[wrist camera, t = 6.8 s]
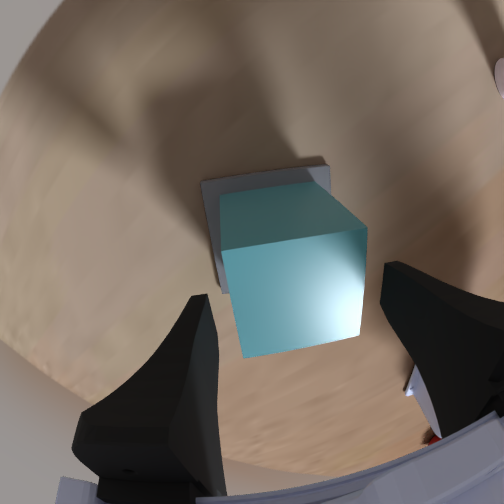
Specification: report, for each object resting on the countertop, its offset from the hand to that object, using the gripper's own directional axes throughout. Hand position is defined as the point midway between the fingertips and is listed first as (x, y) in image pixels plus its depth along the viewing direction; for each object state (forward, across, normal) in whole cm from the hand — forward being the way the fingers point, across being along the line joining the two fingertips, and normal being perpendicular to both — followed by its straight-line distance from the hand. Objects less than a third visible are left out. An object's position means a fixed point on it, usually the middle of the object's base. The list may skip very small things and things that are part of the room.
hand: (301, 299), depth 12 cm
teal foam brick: (+6, 0, 0) cm, 6 cm away
